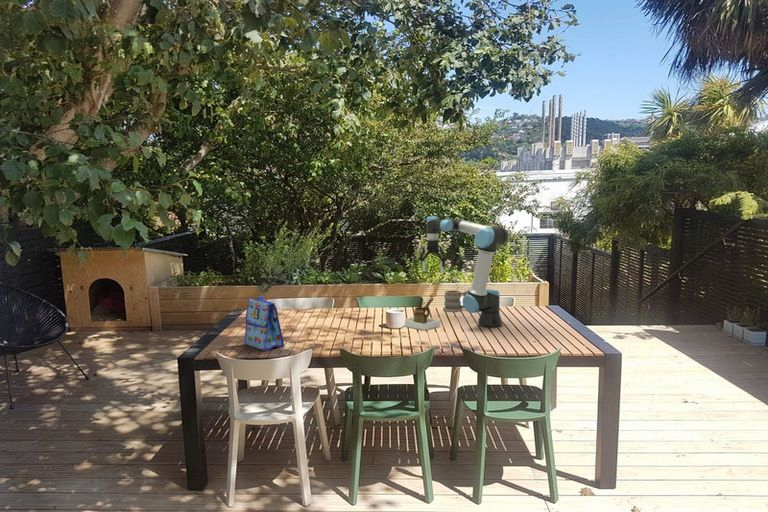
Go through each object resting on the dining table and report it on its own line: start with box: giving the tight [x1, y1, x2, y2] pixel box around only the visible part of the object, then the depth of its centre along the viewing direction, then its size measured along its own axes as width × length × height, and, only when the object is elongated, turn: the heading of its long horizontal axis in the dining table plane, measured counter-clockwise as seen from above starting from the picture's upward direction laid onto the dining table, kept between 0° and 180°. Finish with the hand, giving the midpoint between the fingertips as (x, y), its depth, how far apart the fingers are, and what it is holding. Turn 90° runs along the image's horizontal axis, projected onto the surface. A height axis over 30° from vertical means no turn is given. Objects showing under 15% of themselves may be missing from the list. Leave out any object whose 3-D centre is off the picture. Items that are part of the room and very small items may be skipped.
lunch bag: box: [244, 295, 285, 352], centre depth 305 cm, size 22×14×29 cm, turn 45°
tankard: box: [443, 290, 468, 313], centre depth 390 cm, size 20×13×15 cm, turn 73°
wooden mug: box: [413, 298, 434, 324], centre depth 344 cm, size 9×14×18 cm, turn 66°
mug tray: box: [403, 316, 441, 332], centre depth 344 cm, size 20×15×4 cm
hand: (433, 271), depth 361 cm, fingers open, 13 cm apart
